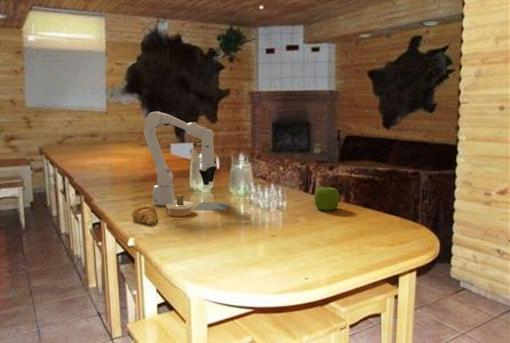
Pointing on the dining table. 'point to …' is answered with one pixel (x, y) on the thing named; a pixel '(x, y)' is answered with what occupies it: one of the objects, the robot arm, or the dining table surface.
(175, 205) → the lid
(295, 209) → the dining table surface
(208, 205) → the mat
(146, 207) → the croissant
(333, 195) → the green rounded cube
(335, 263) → the dining table surface
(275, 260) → the dining table surface
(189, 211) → the brown rounded ring
